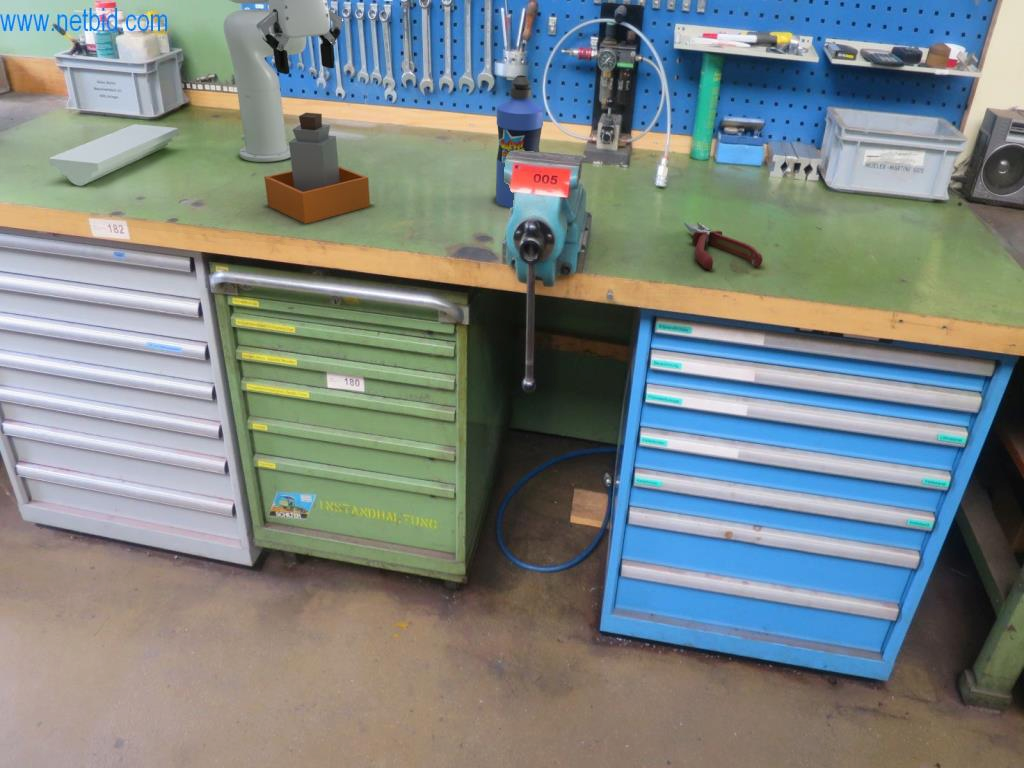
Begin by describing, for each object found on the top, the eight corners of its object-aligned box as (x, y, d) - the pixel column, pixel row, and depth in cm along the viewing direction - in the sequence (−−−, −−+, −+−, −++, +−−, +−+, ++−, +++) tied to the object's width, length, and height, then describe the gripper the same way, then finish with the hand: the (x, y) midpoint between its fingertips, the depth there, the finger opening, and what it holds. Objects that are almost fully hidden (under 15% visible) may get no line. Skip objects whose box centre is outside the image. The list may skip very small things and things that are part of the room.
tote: (268, 206, 160) (264, 176, 156) (332, 190, 169) (329, 162, 166) (305, 223, 152) (302, 193, 149) (370, 206, 161) (368, 177, 158)
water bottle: (507, 191, 172) (510, 69, 159) (546, 198, 169) (552, 75, 156) (487, 203, 165) (489, 77, 152) (527, 211, 162) (533, 83, 148)
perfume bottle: (328, 213, 157) (319, 120, 148) (296, 209, 158) (286, 117, 149) (341, 202, 163) (333, 112, 153) (310, 199, 164) (301, 109, 154)
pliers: (716, 227, 157) (719, 215, 156) (764, 268, 140) (767, 254, 139) (662, 230, 155) (664, 217, 153) (704, 272, 138) (706, 258, 137)
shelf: (182, 150, 190) (178, 128, 188) (103, 188, 165) (97, 163, 163) (139, 146, 192) (134, 124, 189) (55, 183, 167) (48, 158, 164)
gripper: (325, -37, 145) (333, 62, 154) (239, -35, 134) (253, 72, 143) (349, -34, 141) (356, 68, 150) (262, -32, 130) (276, 78, 139)
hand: (306, 70), depth 146 cm, fingers open, 9 cm apart
